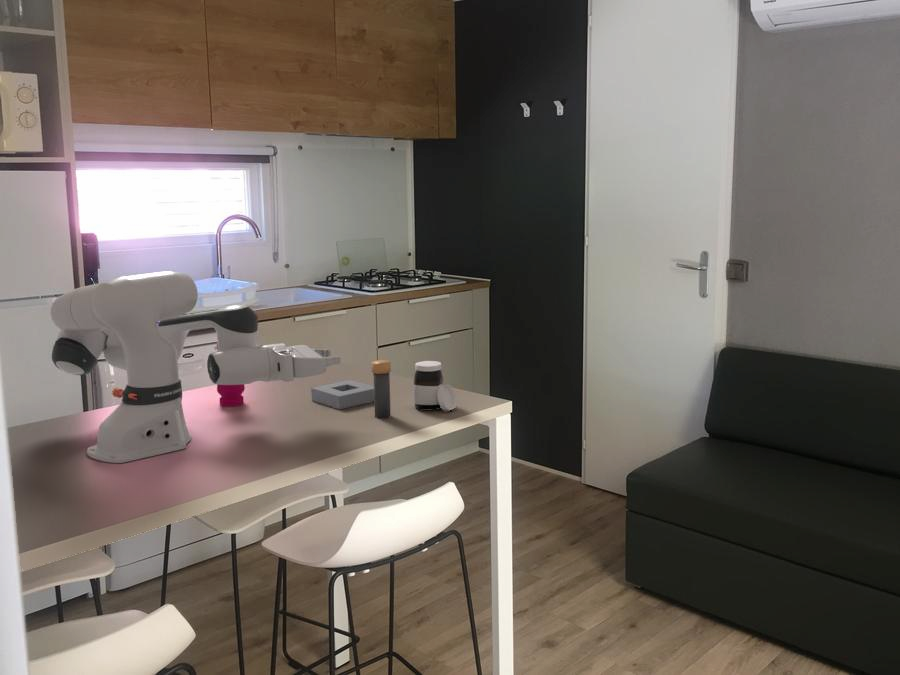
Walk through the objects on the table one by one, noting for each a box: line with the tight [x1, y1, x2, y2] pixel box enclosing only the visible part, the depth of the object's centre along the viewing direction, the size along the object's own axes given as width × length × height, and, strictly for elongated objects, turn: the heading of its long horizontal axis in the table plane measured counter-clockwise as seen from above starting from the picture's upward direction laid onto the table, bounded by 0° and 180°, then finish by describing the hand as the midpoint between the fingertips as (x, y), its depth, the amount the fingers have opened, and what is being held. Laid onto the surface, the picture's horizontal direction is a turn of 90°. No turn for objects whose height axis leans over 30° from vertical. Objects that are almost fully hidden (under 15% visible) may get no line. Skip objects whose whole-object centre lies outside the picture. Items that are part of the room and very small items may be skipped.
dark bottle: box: [371, 359, 392, 419], centre depth 213 cm, size 5×5×14 cm
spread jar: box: [413, 360, 458, 412], centre depth 220 cm, size 12×11×12 cm
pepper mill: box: [216, 343, 246, 407], centre depth 226 cm, size 7×7×20 cm
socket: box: [310, 379, 374, 410], centre depth 230 cm, size 13×13×4 cm
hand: (334, 356), depth 208 cm, fingers open, 8 cm apart
